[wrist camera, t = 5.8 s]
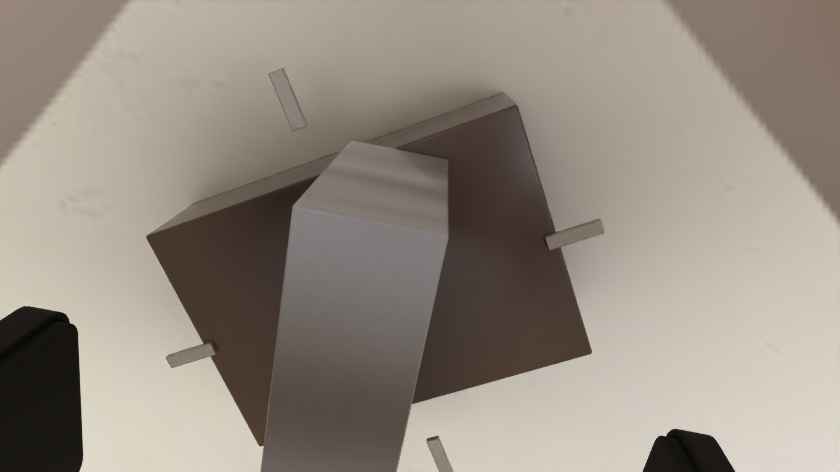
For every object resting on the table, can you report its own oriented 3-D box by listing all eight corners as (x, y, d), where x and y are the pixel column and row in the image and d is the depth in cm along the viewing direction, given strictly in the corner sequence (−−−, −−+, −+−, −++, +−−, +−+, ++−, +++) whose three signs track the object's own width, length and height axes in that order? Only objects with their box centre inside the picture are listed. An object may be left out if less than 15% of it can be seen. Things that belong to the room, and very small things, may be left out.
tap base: (516, -18, 15) (532, -30, 12) (623, 362, 19) (657, 424, 16) (119, 135, 17) (51, 158, 14) (287, 455, 21) (261, 525, 18)
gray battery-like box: (350, 139, 14) (288, 209, 8) (448, 158, 14) (449, 240, 8) (309, 413, 17) (241, 600, 11) (391, 429, 17) (364, 622, 11)
